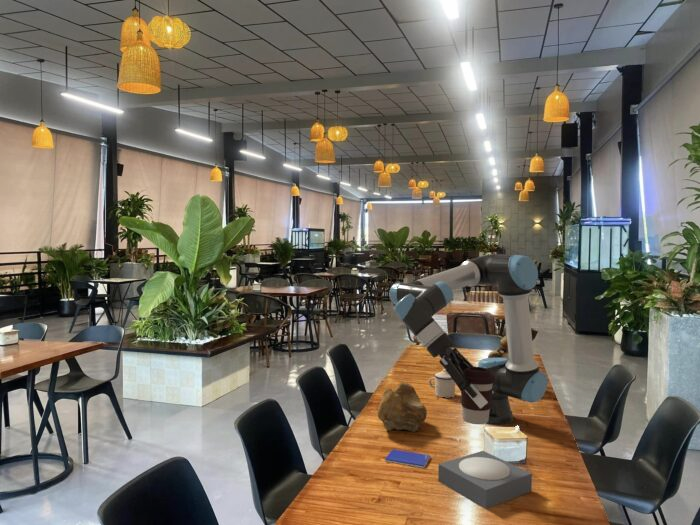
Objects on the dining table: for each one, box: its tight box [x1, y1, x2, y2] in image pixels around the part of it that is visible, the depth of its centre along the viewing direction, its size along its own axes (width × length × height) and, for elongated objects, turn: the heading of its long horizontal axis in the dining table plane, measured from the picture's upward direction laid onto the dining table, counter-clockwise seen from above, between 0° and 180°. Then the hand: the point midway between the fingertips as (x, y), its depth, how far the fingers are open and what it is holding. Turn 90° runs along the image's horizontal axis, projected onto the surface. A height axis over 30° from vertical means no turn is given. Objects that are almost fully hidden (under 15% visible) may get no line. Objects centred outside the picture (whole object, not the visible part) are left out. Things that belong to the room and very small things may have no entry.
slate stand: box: [437, 450, 533, 509], centre depth 148 cm, size 18×18×5 cm
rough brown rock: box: [377, 381, 428, 433], centre depth 193 cm, size 23×17×15 cm
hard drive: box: [384, 448, 431, 469], centre depth 165 cm, size 2×8×12 cm
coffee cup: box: [460, 366, 495, 425], centre depth 151 cm, size 10×10×15 cm
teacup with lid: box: [428, 368, 456, 399], centre depth 232 cm, size 12×9×12 cm
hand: (487, 400), depth 150 cm, fingers closed on coffee cup, 10 cm apart
